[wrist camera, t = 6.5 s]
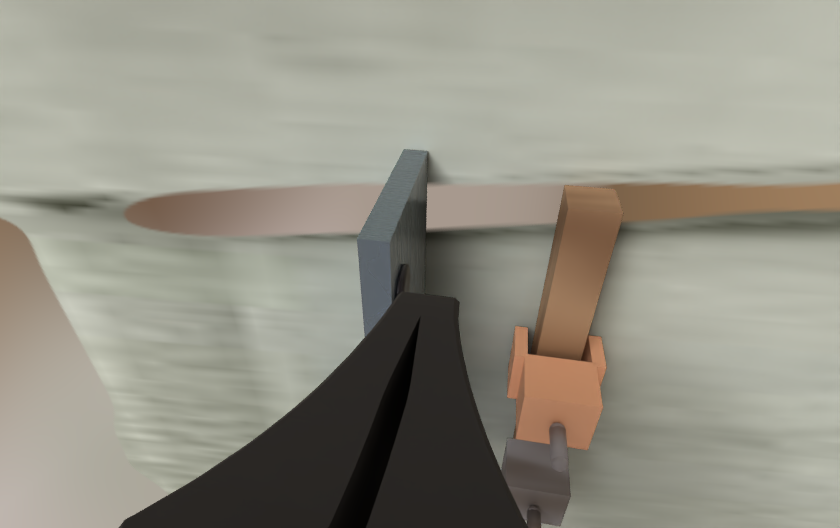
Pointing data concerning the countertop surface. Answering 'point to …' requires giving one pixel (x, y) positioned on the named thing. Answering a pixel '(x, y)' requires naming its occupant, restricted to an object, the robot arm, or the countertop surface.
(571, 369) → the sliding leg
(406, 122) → the countertop surface
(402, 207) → the flange plate
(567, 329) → the trammel beam
